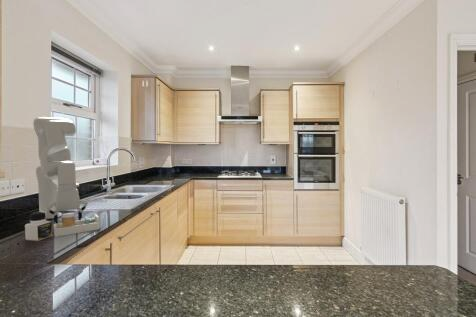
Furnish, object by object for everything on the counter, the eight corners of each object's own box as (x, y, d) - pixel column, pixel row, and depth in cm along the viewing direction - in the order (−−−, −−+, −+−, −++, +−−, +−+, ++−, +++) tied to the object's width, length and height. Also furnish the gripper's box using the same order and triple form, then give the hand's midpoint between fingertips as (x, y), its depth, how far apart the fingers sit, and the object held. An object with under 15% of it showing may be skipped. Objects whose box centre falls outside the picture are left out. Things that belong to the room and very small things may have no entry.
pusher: (84, 224, 143) (84, 216, 143) (93, 222, 146) (93, 215, 146) (86, 227, 137) (86, 219, 137) (96, 226, 139) (96, 218, 139)
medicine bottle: (38, 241, 122) (37, 214, 122) (25, 240, 124) (23, 213, 123) (52, 235, 129) (51, 210, 129) (39, 235, 131) (38, 210, 130)
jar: (61, 228, 137) (60, 214, 136) (74, 226, 140) (74, 212, 140) (62, 231, 132) (61, 216, 131) (76, 229, 135) (75, 214, 135)
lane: (53, 230, 137) (53, 219, 137) (96, 224, 148) (95, 213, 148) (54, 236, 128) (54, 223, 128) (99, 229, 139) (99, 217, 139)
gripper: (86, 184, 143) (87, 217, 144) (45, 187, 133) (47, 222, 134) (88, 186, 137) (89, 220, 138) (45, 189, 127) (47, 226, 128)
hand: (68, 221), depth 136 cm, fingers open, 9 cm apart
